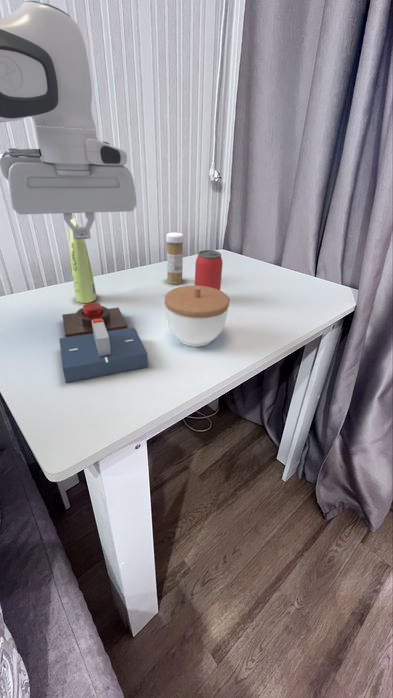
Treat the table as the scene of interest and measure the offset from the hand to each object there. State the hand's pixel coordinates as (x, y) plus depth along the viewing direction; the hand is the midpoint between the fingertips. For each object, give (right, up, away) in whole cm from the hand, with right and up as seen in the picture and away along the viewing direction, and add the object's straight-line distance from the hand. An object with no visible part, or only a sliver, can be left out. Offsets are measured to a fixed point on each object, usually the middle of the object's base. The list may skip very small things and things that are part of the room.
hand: (82, 238), depth 60 cm
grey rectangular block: (+4, -19, -1) cm, 20 cm away
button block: (-1, -16, +10) cm, 19 cm away
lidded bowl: (+21, -18, +9) cm, 29 cm away
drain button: (-1, -13, +8) cm, 15 cm away
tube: (-7, -8, +23) cm, 25 cm away
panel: (+4, -22, +1) cm, 22 cm away
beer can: (+24, -8, +25) cm, 35 cm away
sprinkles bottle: (+15, -1, +35) cm, 38 cm away
